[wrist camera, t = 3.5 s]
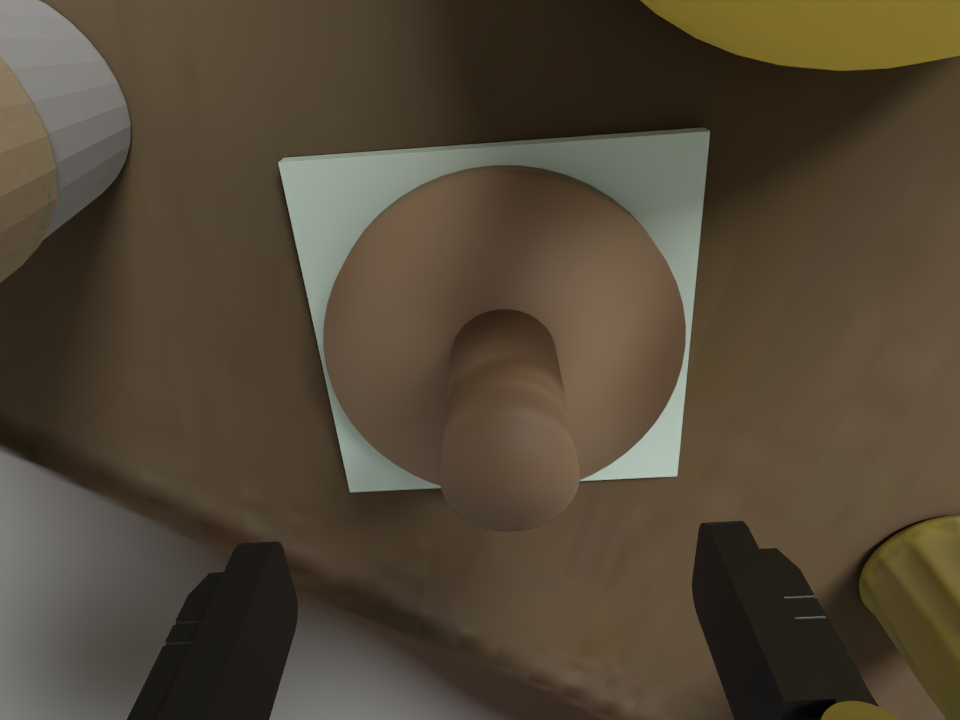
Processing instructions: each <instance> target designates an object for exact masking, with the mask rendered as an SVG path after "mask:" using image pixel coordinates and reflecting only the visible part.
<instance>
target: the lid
mask: <svg viewBox="0 0 960 720" xmlns="http://www.w3.org/2000/svg"><path fill="white" fill-rule="evenodd" d="M685 342H686V323H685V315H684V308H683V302H682V299H681V295H680V292H679V289H678V285H677V282H676V280H675V278H674V276H673V274H672V271H671V269H670V267H669V265H668V263H667V261H666V260H665V258H664V257H663V255H662V254H661V252H660V251H659V249H658V248H657V246H656V245H655V243H654V242H653V240H652V239H651V237H650V236H649V234H648V233H647V232H646V230H645V229H644V228H643V227H642V226H641V224H640V223H639V222H638V221H637V220H636V219H635V218H634V217H633V216H632V215H631V213H630V212H628V211H627V210H626V209H625V208H623V207H622V206H621V205H620V204H619V203H617V202H616V201H615V200H614V199H612V198H611V197H610V196H608V195H606V194H605V193H603V192H601V191H600V190H598V189H596V188H595V187H593V186H591V185H589V184H587V183H585V182H582V181H580V180H578V179H575V178H573V177H571V176H568V175H565V174H561V173H558V172H554V171H550V170H547V169H543V168H535V167H527V166H520V165H491V166H484V167H477V168H469V169H465V170H461V171H457V172H454V173H450V174H447V175H443V176H441V177H438V178H436V179H434V180H431V181H429V182H427V183H424V184H422V185H420V186H418V187H416V188H415V189H413V190H411V191H410V192H408V193H406V194H405V195H403V196H401V197H400V198H398V199H397V200H396V201H394V202H393V203H392V204H391V205H389V206H388V207H387V208H386V209H385V210H383V211H382V212H381V213H380V214H379V215H378V216H377V217H376V218H375V219H374V220H373V221H372V222H371V223H370V224H369V226H368V227H367V228H366V229H365V230H364V231H363V233H362V234H361V236H360V237H359V238H358V240H357V241H356V243H355V244H354V246H353V247H352V249H351V250H350V252H349V254H348V256H347V258H346V260H345V261H344V263H343V265H342V267H341V269H340V271H339V273H338V275H337V278H336V280H335V282H334V284H333V287H332V290H331V293H330V296H329V299H328V303H327V307H326V314H325V320H324V334H323V347H324V355H325V362H326V368H327V372H328V375H329V378H330V382H331V385H332V388H333V390H334V393H335V395H336V397H337V399H338V401H339V404H340V406H341V407H342V409H343V411H344V412H345V414H346V415H347V417H348V419H349V420H350V422H351V423H352V424H353V426H354V427H355V428H356V429H357V431H358V432H359V433H360V434H361V435H362V437H363V438H364V439H365V440H366V441H367V442H368V443H369V444H370V445H371V446H372V447H373V448H375V449H376V450H377V451H378V452H379V453H380V454H382V455H383V456H384V457H386V458H387V459H388V460H390V461H391V462H392V463H394V464H395V465H397V466H398V467H400V468H402V469H404V470H405V471H407V472H409V473H410V474H412V475H414V476H417V477H419V478H421V479H423V480H426V481H428V482H430V483H433V484H436V485H439V486H441V490H442V493H443V495H444V497H445V499H446V501H447V503H448V504H449V505H450V507H451V508H452V509H453V510H454V511H455V512H456V513H457V514H458V515H460V516H461V517H462V518H464V519H465V520H467V521H469V522H470V523H473V524H475V525H477V526H480V527H483V528H486V529H490V530H495V531H522V530H527V529H531V528H535V527H538V526H540V525H543V524H545V523H547V522H549V521H551V520H553V519H554V518H556V517H557V516H558V515H560V514H561V513H562V512H563V511H564V510H565V509H566V508H567V507H568V506H569V504H570V503H571V502H572V500H573V498H574V497H575V495H576V492H577V490H578V486H579V481H580V480H581V479H584V478H586V477H588V476H591V475H593V474H595V473H596V472H598V471H600V470H602V469H603V468H605V467H607V466H609V465H610V464H612V463H613V462H614V461H616V460H617V459H619V458H620V457H621V456H623V455H624V454H625V453H627V452H628V451H629V450H630V449H631V448H632V447H633V446H634V445H636V444H637V443H638V442H639V441H640V440H641V439H642V438H643V437H644V436H645V434H646V433H647V432H648V431H649V430H650V429H651V427H652V426H653V425H654V424H655V423H656V421H657V420H658V418H659V417H660V415H661V413H662V412H663V410H664V409H665V407H666V406H667V404H668V402H669V400H670V398H671V396H672V393H673V391H674V389H675V387H676V384H677V381H678V378H679V375H680V372H681V369H682V364H683V358H684V352H685Z"/></svg>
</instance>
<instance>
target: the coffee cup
mask: <svg viewBox="0 0 960 720" xmlns="http://www.w3.org/2000/svg"><path fill="white" fill-rule="evenodd" d="M130 138H131V123H130V118H129V113H128V108H127V103H126V101H125V99H124V96H123V94H122V91H121V89H120V86H119V84H118V82H117V80H116V78H115V77H114V75H113V73H112V72H111V70H110V68H109V67H108V65H107V63H106V62H105V60H104V59H103V58H102V56H101V55H100V54H99V53H98V51H97V50H96V49H95V48H94V46H93V45H92V44H91V42H90V41H89V40H88V39H87V38H86V37H85V36H84V35H83V34H82V33H81V32H80V31H79V30H78V29H77V28H76V27H75V26H74V25H73V24H72V23H71V22H70V21H68V20H67V19H66V18H64V17H63V16H62V15H60V14H59V13H58V12H56V11H55V10H54V9H52V8H51V7H50V6H48V5H47V4H45V3H43V2H41V1H39V0H0V283H1V282H2V281H3V280H5V279H6V278H7V277H8V276H10V275H11V274H12V273H13V272H15V271H16V270H17V269H18V268H20V267H21V266H22V265H23V264H24V263H25V262H26V260H27V259H28V258H29V257H30V256H31V255H32V254H33V253H34V251H35V250H36V249H37V248H38V247H39V246H40V244H41V242H42V241H43V240H44V239H45V238H46V237H48V236H49V235H50V234H52V233H53V232H54V231H55V230H57V229H58V228H59V227H60V226H62V225H63V224H64V223H65V222H67V221H68V220H69V219H71V218H72V217H73V216H74V215H76V214H77V213H78V212H79V211H81V210H82V209H83V208H84V207H86V206H87V205H88V204H90V203H91V202H92V201H93V200H95V199H96V198H97V197H98V196H100V195H101V194H102V193H103V192H104V191H105V190H106V189H107V188H108V187H109V186H110V185H111V184H112V182H113V181H114V180H115V179H116V178H117V176H118V174H119V173H120V171H121V169H122V167H123V165H124V164H125V161H126V158H127V154H128V151H129V147H130Z"/></svg>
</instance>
